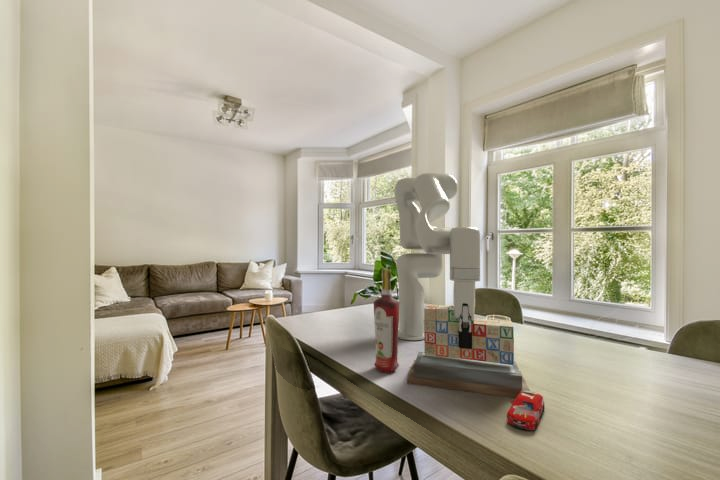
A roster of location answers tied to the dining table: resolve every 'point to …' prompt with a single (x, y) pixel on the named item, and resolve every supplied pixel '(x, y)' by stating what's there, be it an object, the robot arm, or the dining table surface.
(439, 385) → the build plinth
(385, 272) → the liquor
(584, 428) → the dining table surface
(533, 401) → the race car
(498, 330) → the stack of blocks
